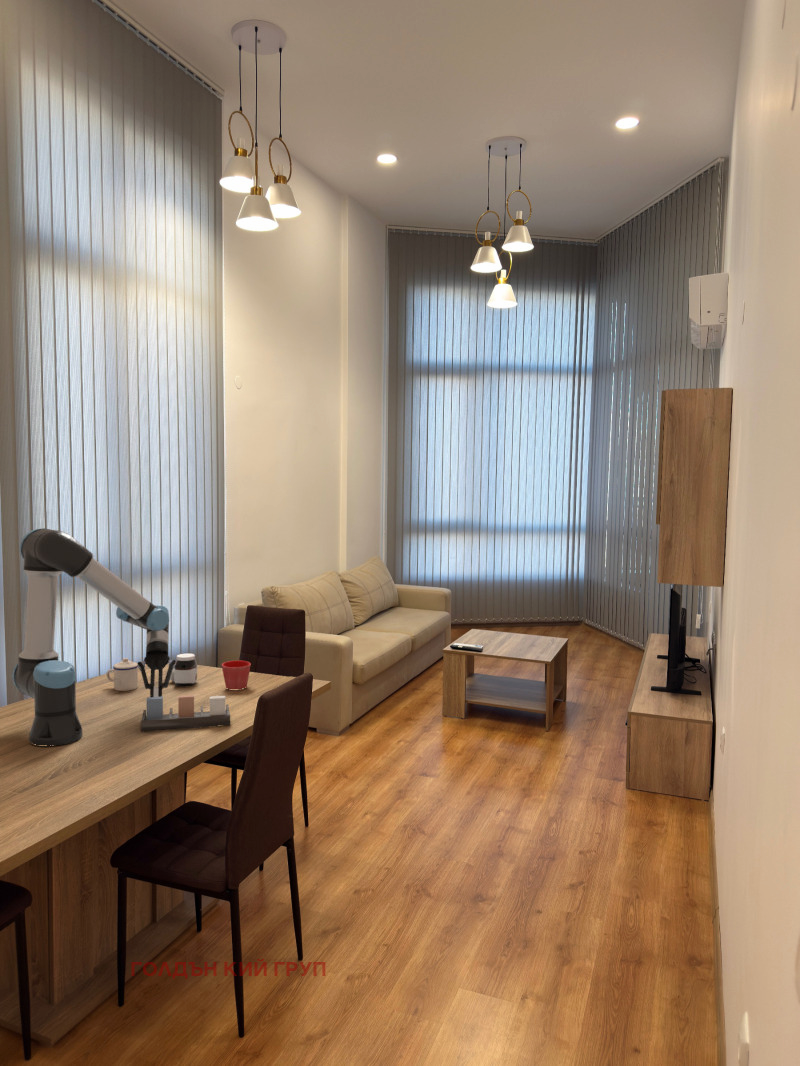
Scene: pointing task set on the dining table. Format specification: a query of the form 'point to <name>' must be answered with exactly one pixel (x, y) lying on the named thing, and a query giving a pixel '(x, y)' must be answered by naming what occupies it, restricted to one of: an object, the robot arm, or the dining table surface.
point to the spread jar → (185, 670)
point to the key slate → (154, 708)
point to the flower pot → (236, 674)
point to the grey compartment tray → (184, 721)
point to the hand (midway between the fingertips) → (155, 705)
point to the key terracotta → (186, 706)
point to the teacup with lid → (124, 675)
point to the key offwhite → (217, 705)
